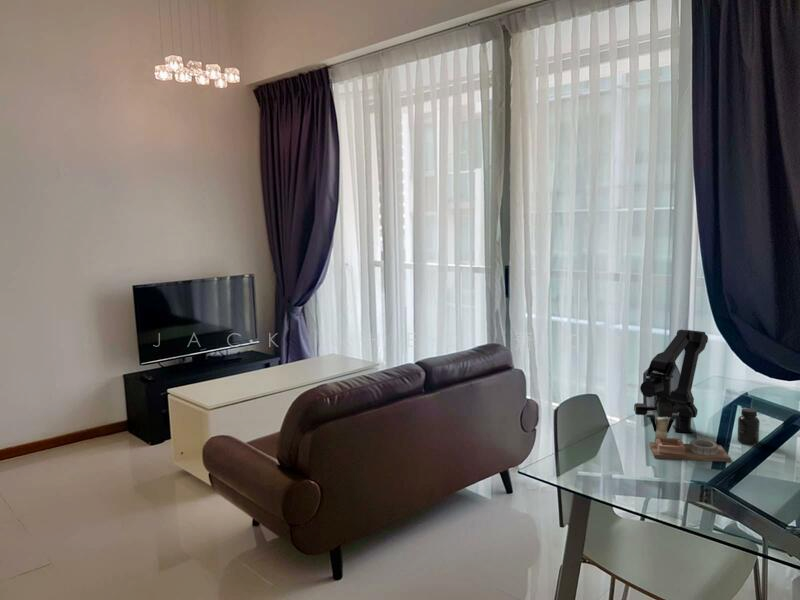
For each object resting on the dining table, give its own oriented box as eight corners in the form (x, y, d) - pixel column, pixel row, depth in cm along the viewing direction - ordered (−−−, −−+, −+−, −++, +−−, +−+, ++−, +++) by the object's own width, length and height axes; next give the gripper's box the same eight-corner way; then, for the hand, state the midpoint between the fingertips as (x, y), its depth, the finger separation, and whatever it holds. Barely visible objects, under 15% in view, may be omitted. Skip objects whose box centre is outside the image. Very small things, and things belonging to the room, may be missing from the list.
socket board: (648, 445, 225) (649, 435, 224) (720, 448, 219) (721, 438, 218) (654, 458, 213) (654, 447, 212) (730, 461, 207) (730, 451, 207)
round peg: (654, 437, 231) (654, 417, 229) (665, 438, 230) (666, 417, 228) (656, 441, 227) (656, 420, 226) (667, 442, 226) (668, 421, 225)
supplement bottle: (761, 445, 220) (763, 413, 218) (740, 445, 221) (742, 412, 220) (754, 438, 227) (756, 407, 225) (734, 438, 228) (735, 406, 226)
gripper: (638, 397, 220) (637, 438, 222) (694, 398, 216) (693, 441, 218) (633, 388, 231) (633, 428, 233) (687, 389, 226) (686, 430, 228)
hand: (661, 432), depth 228 cm, fingers closed on round peg, 4 cm apart
